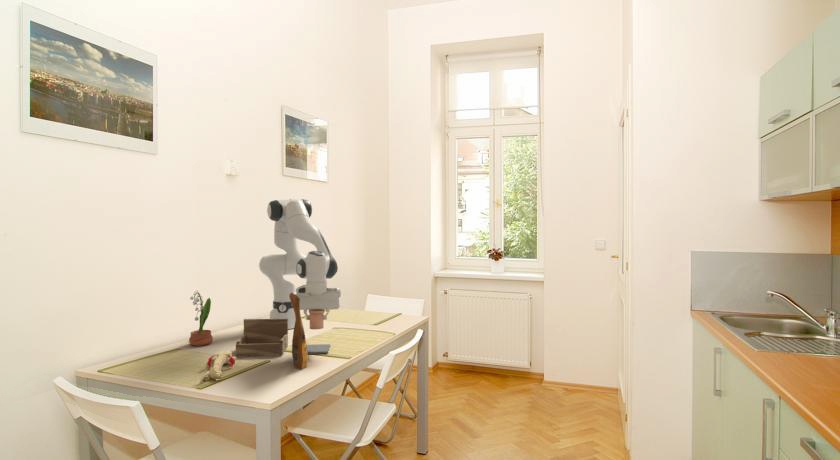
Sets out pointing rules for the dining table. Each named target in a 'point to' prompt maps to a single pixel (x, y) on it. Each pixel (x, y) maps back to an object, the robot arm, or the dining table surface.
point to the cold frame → (263, 338)
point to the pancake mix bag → (298, 336)
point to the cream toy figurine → (218, 364)
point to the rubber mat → (318, 348)
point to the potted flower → (201, 324)
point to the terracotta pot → (316, 319)
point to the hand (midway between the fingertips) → (316, 319)
